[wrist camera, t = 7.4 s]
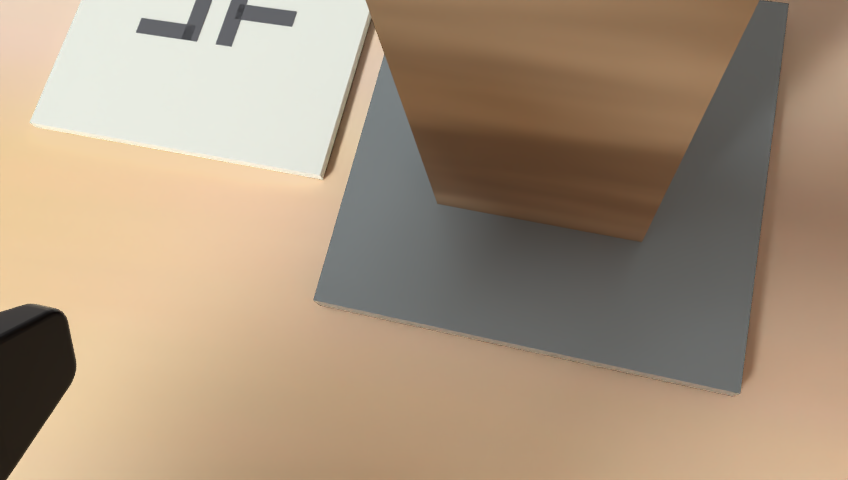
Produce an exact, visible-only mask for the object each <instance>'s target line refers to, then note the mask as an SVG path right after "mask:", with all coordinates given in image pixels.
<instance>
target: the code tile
mask: <svg viewBox="0 0 848 480" xmlns="http://www.w3.org/2000/svg"><path fill="white" fill-rule="evenodd" d="M370 21H371V15H370V12H369V9H368V6H367V3H366V0H81V3H80V5H79V7H78V10H77V12H76V14H75V17H74V19H73V21H72V24H71V26H70V28H69V31H68V33H67V36H66V38H65V40H64V43H63V45H62V47H61V50H60V52H59V54H58V57H57V59H56V61H55V64H54V66H53V69H52V71H51V73H50V76H49V78H48V80H47V83H46V85H45V87H44V90H43V92H42V95H41V97H40V99H39V102H38V104H37V106H36V109H35V111H34V113H33V116H32V118H31V120H30V123H31V124H32V125H34V126H35V127H37V128H43V129H48V130H54V131H59V132H65V133H70V134H76V135H81V136H87V137H92V138H98V139H103V140H109V141H114V142H120V143H125V144H130V145H136V146H141V147H147V148H152V149H158V150H163V151H169V152H174V153H180V154H185V155H191V156H196V157H202V158H207V159H213V160H218V161H224V162H229V163H235V164H240V165H246V166H251V167H256V168H262V169H267V170H273V171H278V172H284V173H289V174H295V175H300V176H306V177H311V178H317V179H322V180H323V178H324V174H325V171H326V168H327V164H328V161H329V158H330V154H331V151H332V148H333V144H334V141H335V138H336V134H337V131H338V128H339V124H340V121H341V118H342V114H343V111H344V107H345V104H346V101H347V97H348V94H349V91H350V87H351V84H352V81H353V77H354V74H355V71H356V67H357V64H358V61H359V57H360V54H361V51H362V47H363V44H364V41H365V37H366V34H367V31H368V27H369V24H370Z"/></svg>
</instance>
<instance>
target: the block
mask: <svg viewBox="0 0 848 480" xmlns="http://www.w3.org/2000/svg"><path fill="white" fill-rule="evenodd" d="M758 2H759V0H366V3H367V6H368V9H369V12H370V15H371V17H372V20H373V23H374V26H375V29H376V32H377V34H378V37H379V40H380V43H381V46H382V48H383V51H384V54H385V57H386V60H387V63H388V65H389V68H390V71H391V74H392V77H393V80H394V82H395V85H396V88H397V91H398V94H399V97H400V99H401V102H402V105H403V108H404V111H405V114H406V116H407V119H408V122H409V125H410V128H411V131H412V133H413V136H414V139H415V142H416V145H417V148H418V150H419V153H420V156H421V159H422V162H423V165H424V167H425V170H426V173H427V176H428V179H429V182H430V184H431V187H432V190H433V193H434V196H435V199H436V201H437V204H440V205H446V206H451V207H456V208H462V209H467V210H472V211H478V212H483V213H488V214H494V215H499V216H504V217H510V218H515V219H520V220H526V221H531V222H536V223H542V224H547V225H552V226H558V227H563V228H568V229H574V230H579V231H584V232H590V233H595V234H600V235H606V236H611V237H616V238H622V239H627V240H632V241H638V242H642V241H643V239H644V237H645V235H646V232H647V230H648V228H649V226H650V224H651V222H652V220H653V218H654V216H655V214H656V212H657V210H658V208H659V206H660V204H661V202H662V200H663V198H664V195H665V193H666V191H667V189H668V187H669V185H670V183H671V181H672V179H673V177H674V175H675V173H676V171H677V169H678V167H679V165H680V163H681V161H682V158H683V156H684V154H685V152H686V150H687V148H688V146H689V144H690V142H691V140H692V138H693V136H694V134H695V132H696V130H697V128H698V126H699V124H700V121H701V119H702V117H703V115H704V113H705V111H706V109H707V107H708V105H709V103H710V101H711V99H712V97H713V95H714V93H715V91H716V89H717V87H718V84H719V82H720V80H721V78H722V76H723V74H724V72H725V70H726V68H727V66H728V64H729V62H730V60H731V58H732V56H733V54H734V52H735V50H736V48H737V45H738V43H739V41H740V39H741V37H742V35H743V33H744V31H745V29H746V27H747V25H748V23H749V21H750V19H751V17H752V15H753V13H754V11H755V8H756V6H757V4H758Z"/></svg>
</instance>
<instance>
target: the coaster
mask: <svg viewBox="0 0 848 480" xmlns="http://www.w3.org/2000/svg"><path fill="white" fill-rule="evenodd" d="M788 5H789V4H788V3H780V2H771V1H762V0H759V2H758V4H757V6H756V8H755V11H754V13H753V15H752V17H751V19H750V21H749V23H748V25H747V27H746V29H745V31H744V33H743V35H742V37H741V39H740V41H739V43H738V45H737V48H736V50H735V52H734V54H733V56H732V58H731V60H730V62H729V64H728V66H727V68H726V70H725V72H724V74H723V76H722V78H721V80H720V82H719V84H718V87H717V89H716V91H715V93H714V95H713V97H712V99H711V101H710V103H709V105H708V107H707V109H706V111H705V113H704V115H703V117H702V119H701V121H700V124H699V126H698V128H697V130H696V132H695V134H694V136H693V138H692V140H691V142H690V144H689V146H688V148H687V150H686V152H685V154H684V156H683V158H682V161H681V163H680V165H679V167H678V169H677V171H676V173H675V175H674V177H673V179H672V181H671V183H670V185H669V187H668V189H667V191H666V193H665V195H664V198H663V200H662V202H661V204H660V206H659V208H658V210H657V212H656V214H655V216H654V218H653V220H652V222H651V224H650V226H649V228H648V230H647V232H646V235H645V237H644V239H643V241H642V242H638V241H632V240H627V239H622V238H616V237H611V236H606V235H600V234H595V233H590V232H584V231H579V230H574V229H568V228H563V227H558V226H552V225H547V224H542V223H536V222H531V221H526V220H520V219H515V218H510V217H504V216H499V215H494V214H488V213H483V212H478V211H472V210H467V209H462V208H456V207H451V206H446V205H440V204H437V201H436V199H435V196H434V193H433V190H432V187H431V184H430V182H429V179H428V176H427V173H426V170H425V167H424V165H423V162H422V159H421V156H420V153H419V150H418V148H417V145H416V142H415V139H414V136H413V133H412V131H411V128H410V125H409V122H408V119H407V116H406V114H405V111H404V108H403V105H402V102H401V99H400V97H399V94H398V91H397V88H396V85H395V82H394V80H393V77H392V74H391V71H390V68H389V65H388V63H387V60H386V57H385V54H384V57H383V61H382V64H381V68H380V71H379V75H378V78H377V82H376V85H375V88H374V92H373V95H372V99H371V102H370V106H369V109H368V113H367V116H366V120H365V123H364V127H363V130H362V133H361V137H360V140H359V144H358V147H357V151H356V154H355V158H354V161H353V165H352V168H351V172H350V175H349V178H348V182H347V185H346V189H345V192H344V196H343V199H342V203H341V206H340V210H339V213H338V217H337V220H336V223H335V227H334V230H333V234H332V237H331V241H330V244H329V248H328V251H327V255H326V258H325V262H324V265H323V268H322V272H321V275H320V279H319V282H318V286H317V289H316V293H315V296H314V301H315V302H316V303H318V304H319V305H320V306H325V307H329V308H334V309H338V310H343V311H348V312H352V313H357V314H361V315H366V316H370V317H375V318H379V319H384V320H388V321H393V322H397V323H402V324H407V325H411V326H416V327H420V328H425V329H429V330H434V331H438V332H443V333H447V334H452V335H457V336H461V337H466V338H470V339H475V340H479V341H484V342H488V343H493V344H497V345H502V346H506V347H511V348H516V349H520V350H525V351H529V352H534V353H538V354H543V355H547V356H552V357H556V358H561V359H566V360H570V361H575V362H579V363H584V364H588V365H593V366H597V367H602V368H606V369H611V370H615V371H620V372H625V373H629V374H634V375H638V376H643V377H647V378H652V379H656V380H661V381H665V382H670V383H675V384H679V385H684V386H688V387H693V388H697V389H702V390H706V391H711V392H715V393H720V394H724V395H729V396H735V395H738V394H740V392H741V384H742V376H743V368H744V360H745V351H746V343H747V335H748V327H749V319H750V311H751V303H752V295H753V287H754V279H755V271H756V263H757V255H758V247H759V239H760V231H761V223H762V214H763V206H764V198H765V190H766V182H767V174H768V166H769V158H770V150H771V142H772V134H773V126H774V118H775V110H776V102H777V94H778V86H779V77H780V69H781V61H782V53H783V45H784V37H785V29H786V21H787V13H788Z"/></svg>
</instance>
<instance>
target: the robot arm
mask: <svg viewBox="0 0 848 480" xmlns="http://www.w3.org/2000/svg"><path fill="white" fill-rule="evenodd" d="M75 372H76V358H75V353H74V348H73V344H72V339H71V334H70V329H69V324H68V320H67V317H66V316H65V315H64V313H63V312H62V311H60V310H59V309H56V308H51V307H47V306H42V305H38V304H25V305H22V306H18V307H15V308H12V309H9V310H5V311H2V312H0V480H6V479H7V478H8V477H9V475H10V474H11V472H12V471H13V469H14V468H15V467H16V465H17V464H18V462H19V461H20V459H21V458H22V456H23V455H24V453H25V452H26V450H27V449H28V447H29V446H30V444H31V443H32V441H33V440H34V438H35V437H36V435H37V434H38V432H39V431H40V429H41V428H42V426H43V425H44V423H45V422H46V420H47V419H48V417H49V416H50V414H51V413H52V412H53V410H54V409H55V407H56V406H57V404H58V403H59V401H60V400H61V398H62V397H63V395H64V394H65V392H66V391H67V389H68V388H69V386H70V385H71V383H72V381H73V378H74V376H75Z"/></svg>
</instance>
